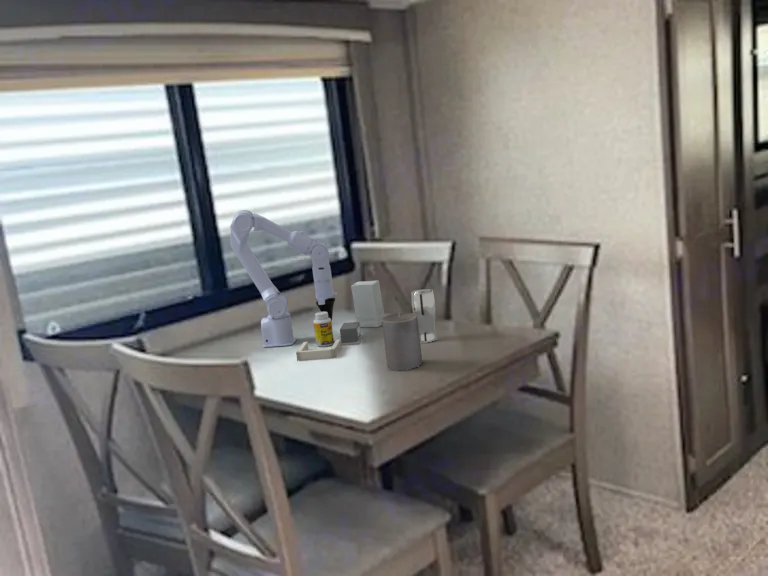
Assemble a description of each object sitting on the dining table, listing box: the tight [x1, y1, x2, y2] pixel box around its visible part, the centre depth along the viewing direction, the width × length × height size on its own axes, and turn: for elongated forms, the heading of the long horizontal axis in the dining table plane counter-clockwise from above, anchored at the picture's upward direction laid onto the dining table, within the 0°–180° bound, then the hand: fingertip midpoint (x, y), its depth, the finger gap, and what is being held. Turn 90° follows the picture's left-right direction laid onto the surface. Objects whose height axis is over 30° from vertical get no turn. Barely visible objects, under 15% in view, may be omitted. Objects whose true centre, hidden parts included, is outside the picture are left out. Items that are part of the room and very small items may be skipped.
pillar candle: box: [381, 311, 423, 371], centre depth 209 cm, size 10×10×15 cm
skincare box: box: [350, 280, 386, 328], centre depth 257 cm, size 8×6×15 cm
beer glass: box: [410, 288, 438, 344], centre depth 231 cm, size 7×7×15 cm
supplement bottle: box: [313, 311, 335, 348], centre depth 240 cm, size 6×6×10 cm
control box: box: [339, 321, 364, 347], centre depth 241 cm, size 6×10×5 cm, turn 174°
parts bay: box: [295, 338, 342, 361], centre depth 231 cm, size 11×11×2 cm
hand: (328, 321), depth 248 cm, fingers closed
